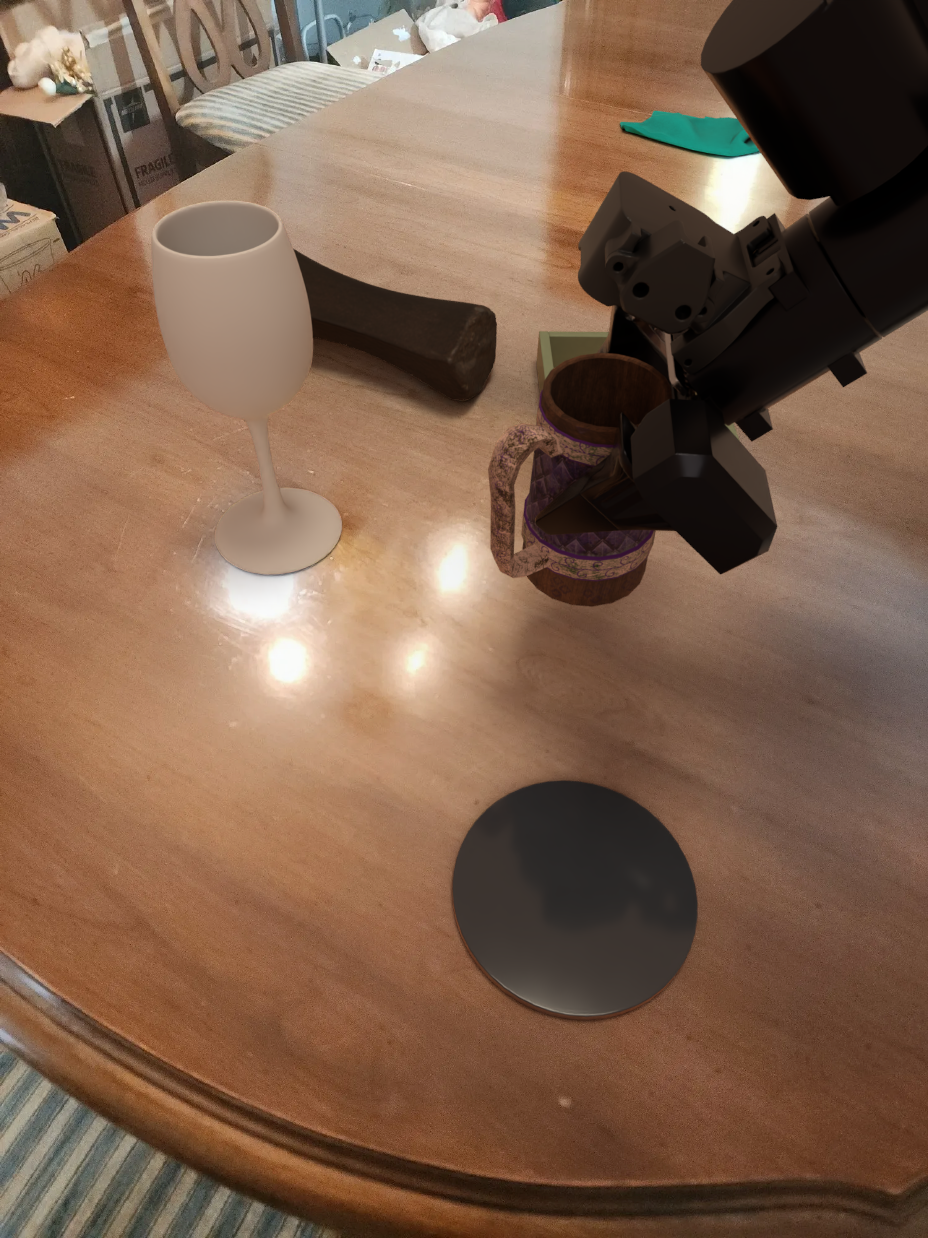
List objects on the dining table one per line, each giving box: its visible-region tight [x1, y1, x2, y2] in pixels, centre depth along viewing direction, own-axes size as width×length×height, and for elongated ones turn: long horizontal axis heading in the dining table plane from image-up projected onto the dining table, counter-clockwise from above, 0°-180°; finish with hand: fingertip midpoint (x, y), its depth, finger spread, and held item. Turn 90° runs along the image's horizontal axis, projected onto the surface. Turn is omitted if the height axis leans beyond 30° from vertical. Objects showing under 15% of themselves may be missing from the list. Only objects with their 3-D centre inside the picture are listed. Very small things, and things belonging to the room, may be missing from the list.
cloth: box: [619, 110, 760, 157], centre depth 107 cm, size 26×14×2 cm, turn 77°
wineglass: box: [150, 199, 343, 576], centre depth 51 cm, size 9×9×21 cm
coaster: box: [451, 779, 699, 1021], centre depth 42 cm, size 12×12×1 cm
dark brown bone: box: [293, 247, 498, 402], centre depth 71 cm, size 11×10×28 cm
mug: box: [487, 353, 672, 608], centre depth 43 cm, size 10×7×12 cm
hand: (543, 478), depth 42 cm, fingers closed on mug, 7 cm apart
